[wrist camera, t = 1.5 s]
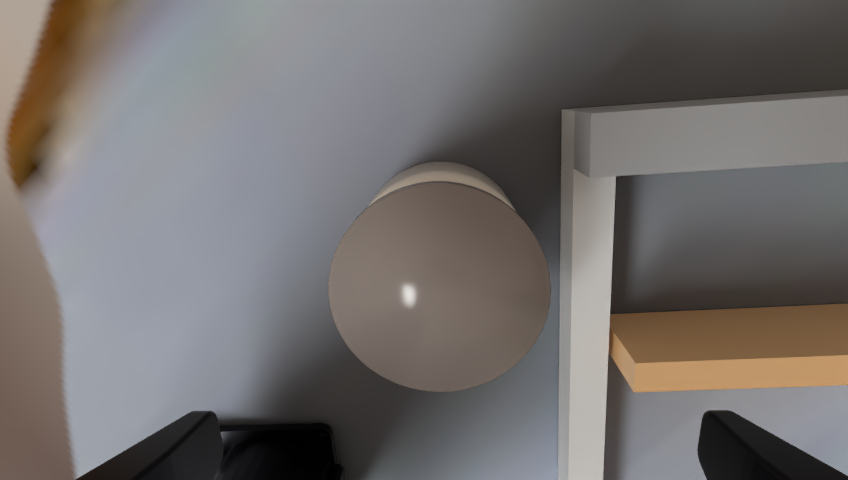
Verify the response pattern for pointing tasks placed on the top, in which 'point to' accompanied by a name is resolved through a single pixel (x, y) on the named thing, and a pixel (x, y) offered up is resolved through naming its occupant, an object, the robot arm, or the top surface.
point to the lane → (595, 203)
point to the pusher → (732, 348)
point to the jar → (439, 280)
